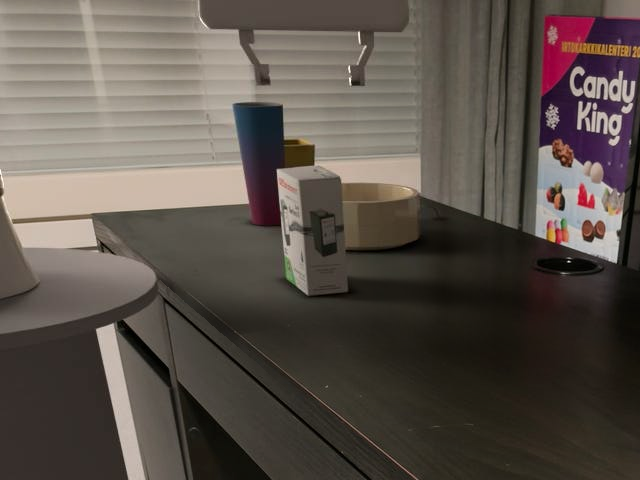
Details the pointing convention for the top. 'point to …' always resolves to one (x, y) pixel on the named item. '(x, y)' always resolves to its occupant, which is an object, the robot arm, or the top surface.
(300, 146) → the flower pot
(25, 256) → the robot arm
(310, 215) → the ink box
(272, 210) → the cup
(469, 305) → the top surface
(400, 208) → the bowl
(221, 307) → the top surface
